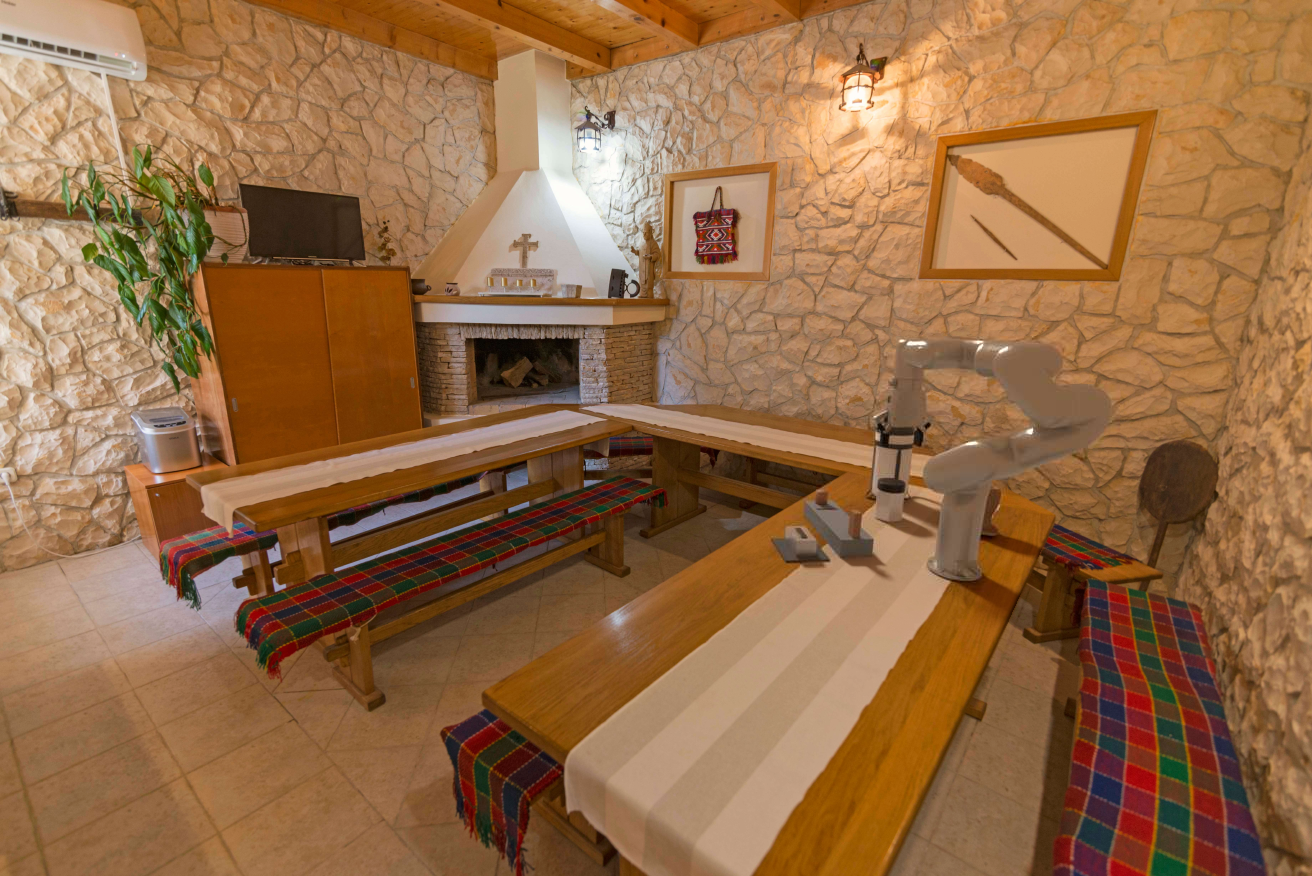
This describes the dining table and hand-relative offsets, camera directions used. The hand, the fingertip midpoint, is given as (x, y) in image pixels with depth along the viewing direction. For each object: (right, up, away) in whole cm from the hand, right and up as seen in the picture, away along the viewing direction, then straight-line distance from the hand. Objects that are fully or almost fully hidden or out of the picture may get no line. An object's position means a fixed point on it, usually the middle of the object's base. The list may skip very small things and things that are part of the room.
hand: (900, 446), depth 157 cm
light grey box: (-28, -28, -1) cm, 40 cm away
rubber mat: (-28, -29, -1) cm, 40 cm away
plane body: (-15, -26, +10) cm, 32 cm away
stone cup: (+27, -26, +14) cm, 40 cm away
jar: (+6, -23, +23) cm, 33 cm away
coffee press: (+14, -19, +41) cm, 47 cm away
